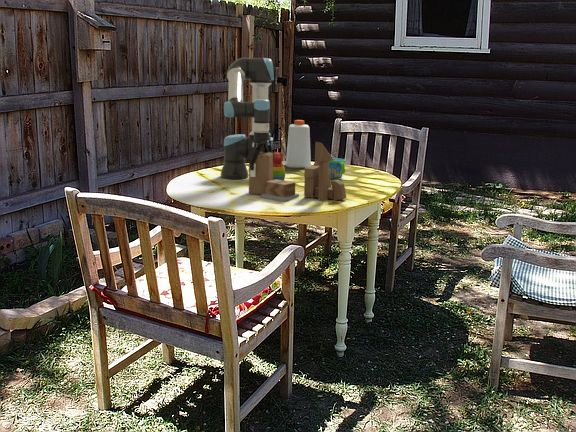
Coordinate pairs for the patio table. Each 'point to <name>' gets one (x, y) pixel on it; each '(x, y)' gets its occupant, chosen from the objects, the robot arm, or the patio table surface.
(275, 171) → the stacking bear
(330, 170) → the snack cup
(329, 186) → the wooden blocks
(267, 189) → the walnut brick
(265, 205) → the patio table surface
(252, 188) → the wooden block
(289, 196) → the plate
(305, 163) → the plastic bottle
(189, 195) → the patio table surface
